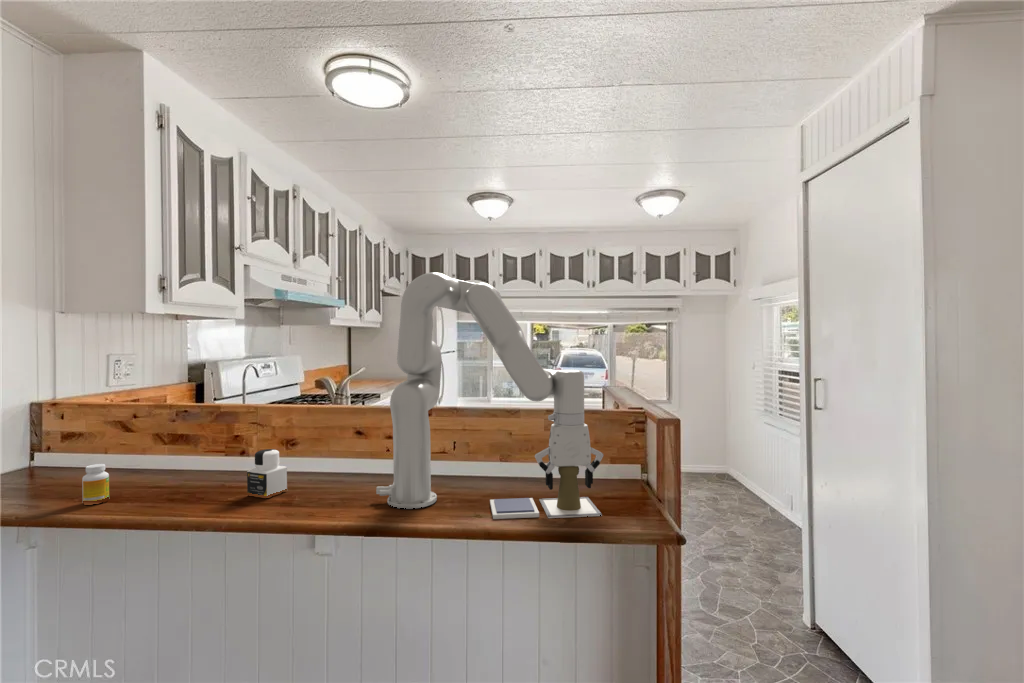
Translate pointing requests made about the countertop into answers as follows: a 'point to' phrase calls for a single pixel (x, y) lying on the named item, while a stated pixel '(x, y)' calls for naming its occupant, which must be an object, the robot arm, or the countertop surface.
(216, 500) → the countertop surface
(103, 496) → the supplement bottle
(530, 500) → the ink pad
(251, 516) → the countertop surface
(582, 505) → the marked square
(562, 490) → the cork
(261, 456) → the medicine bottle
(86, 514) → the countertop surface
